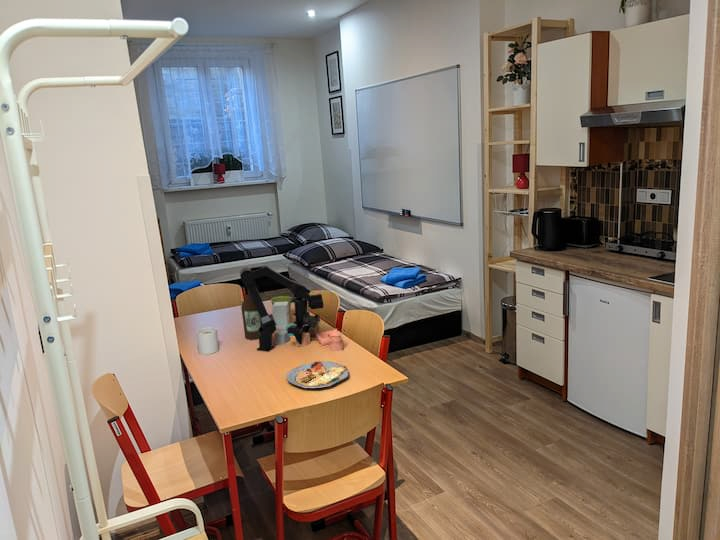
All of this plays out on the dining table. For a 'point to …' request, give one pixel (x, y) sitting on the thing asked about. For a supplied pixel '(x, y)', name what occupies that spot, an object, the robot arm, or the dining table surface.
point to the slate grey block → (281, 337)
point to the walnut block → (314, 331)
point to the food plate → (318, 368)
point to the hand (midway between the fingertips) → (302, 342)
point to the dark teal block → (288, 327)
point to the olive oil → (250, 318)
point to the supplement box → (281, 314)
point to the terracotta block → (304, 339)
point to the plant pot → (282, 299)
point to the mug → (207, 340)
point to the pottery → (330, 339)
